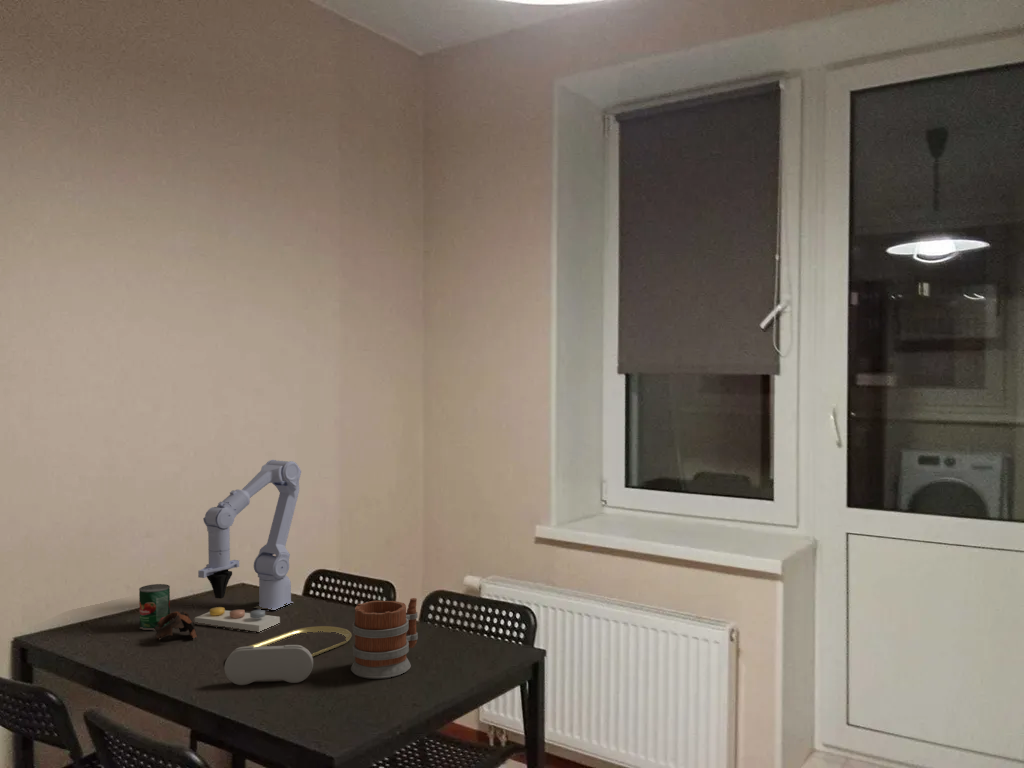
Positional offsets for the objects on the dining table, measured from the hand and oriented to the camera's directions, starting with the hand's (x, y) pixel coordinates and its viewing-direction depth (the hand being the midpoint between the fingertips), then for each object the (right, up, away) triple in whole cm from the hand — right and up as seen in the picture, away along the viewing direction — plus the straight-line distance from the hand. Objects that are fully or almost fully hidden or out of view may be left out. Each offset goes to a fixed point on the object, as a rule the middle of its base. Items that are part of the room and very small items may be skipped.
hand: (219, 597), depth 239 cm
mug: (+53, -7, -37) cm, 65 cm away
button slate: (+12, -5, -5) cm, 14 cm away
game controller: (+28, -8, -47) cm, 55 cm away
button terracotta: (+6, -6, -2) cm, 8 cm away
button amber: (-1, -4, 0) cm, 5 cm away
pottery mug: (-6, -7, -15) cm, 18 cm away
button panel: (+6, -7, -2) cm, 9 cm away
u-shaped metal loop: (+27, -8, -25) cm, 37 cm away
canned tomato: (-17, -7, -4) cm, 19 cm away
